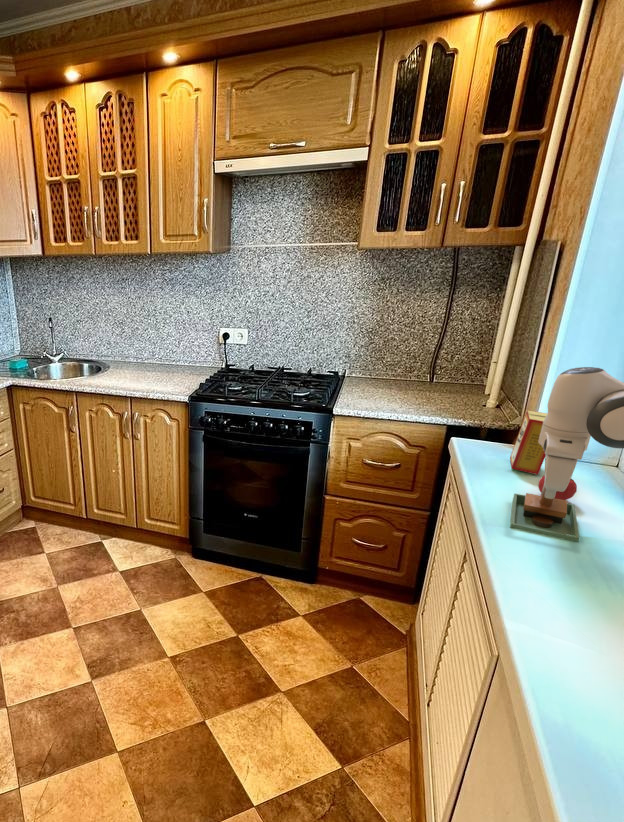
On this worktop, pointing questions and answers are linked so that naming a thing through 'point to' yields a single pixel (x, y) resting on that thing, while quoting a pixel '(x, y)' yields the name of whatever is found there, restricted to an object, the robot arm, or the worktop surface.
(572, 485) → the tomato
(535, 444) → the baking soda box
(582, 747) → the worktop surface
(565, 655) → the worktop surface
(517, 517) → the tray
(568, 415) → the robot arm
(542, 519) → the brown disc
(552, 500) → the brush
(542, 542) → the worktop surface
